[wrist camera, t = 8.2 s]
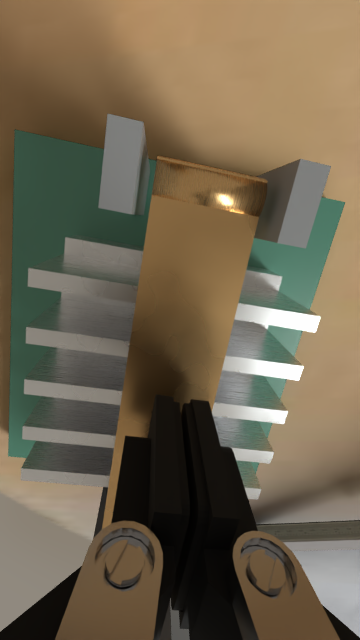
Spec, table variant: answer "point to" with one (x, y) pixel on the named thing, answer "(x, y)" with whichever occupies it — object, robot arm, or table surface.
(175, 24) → the table surface
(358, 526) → the caliper
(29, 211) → the motherboard
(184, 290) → the strap
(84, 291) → the heat sink
